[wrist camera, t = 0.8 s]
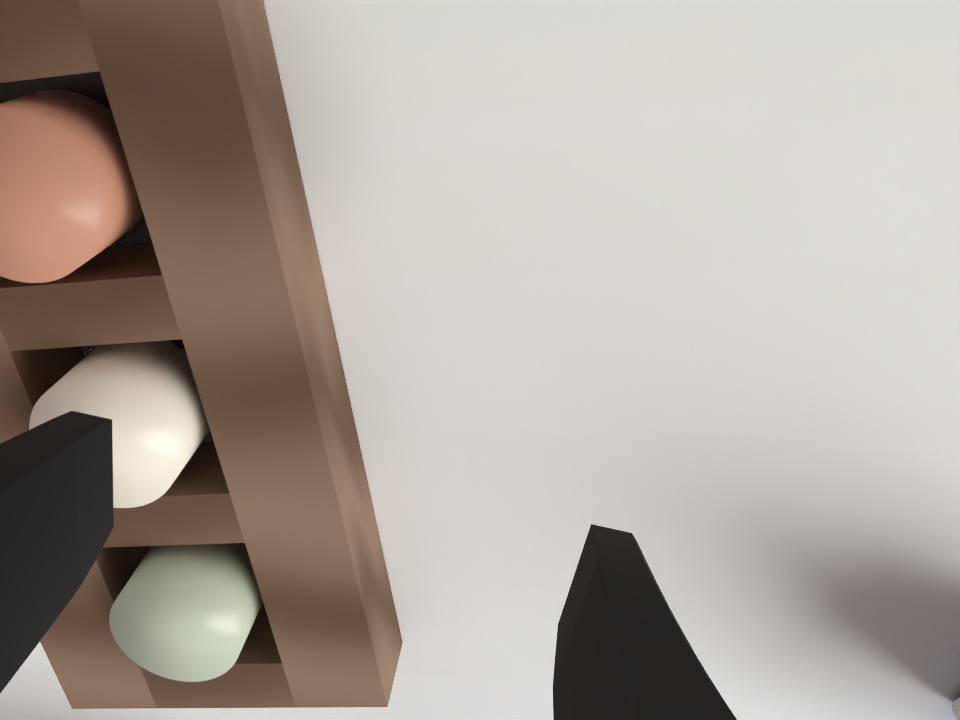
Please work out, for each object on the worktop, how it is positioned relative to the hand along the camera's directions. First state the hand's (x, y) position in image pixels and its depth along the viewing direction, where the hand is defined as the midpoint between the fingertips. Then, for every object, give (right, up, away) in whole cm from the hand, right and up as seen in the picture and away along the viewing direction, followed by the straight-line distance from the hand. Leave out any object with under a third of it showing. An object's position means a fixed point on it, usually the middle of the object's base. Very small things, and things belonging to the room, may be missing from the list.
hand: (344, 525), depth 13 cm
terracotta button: (-7, +7, +7) cm, 12 cm away
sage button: (-6, -3, +13) cm, 15 cm away
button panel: (-7, +2, +11) cm, 13 cm away
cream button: (-7, +2, +11) cm, 13 cm away
